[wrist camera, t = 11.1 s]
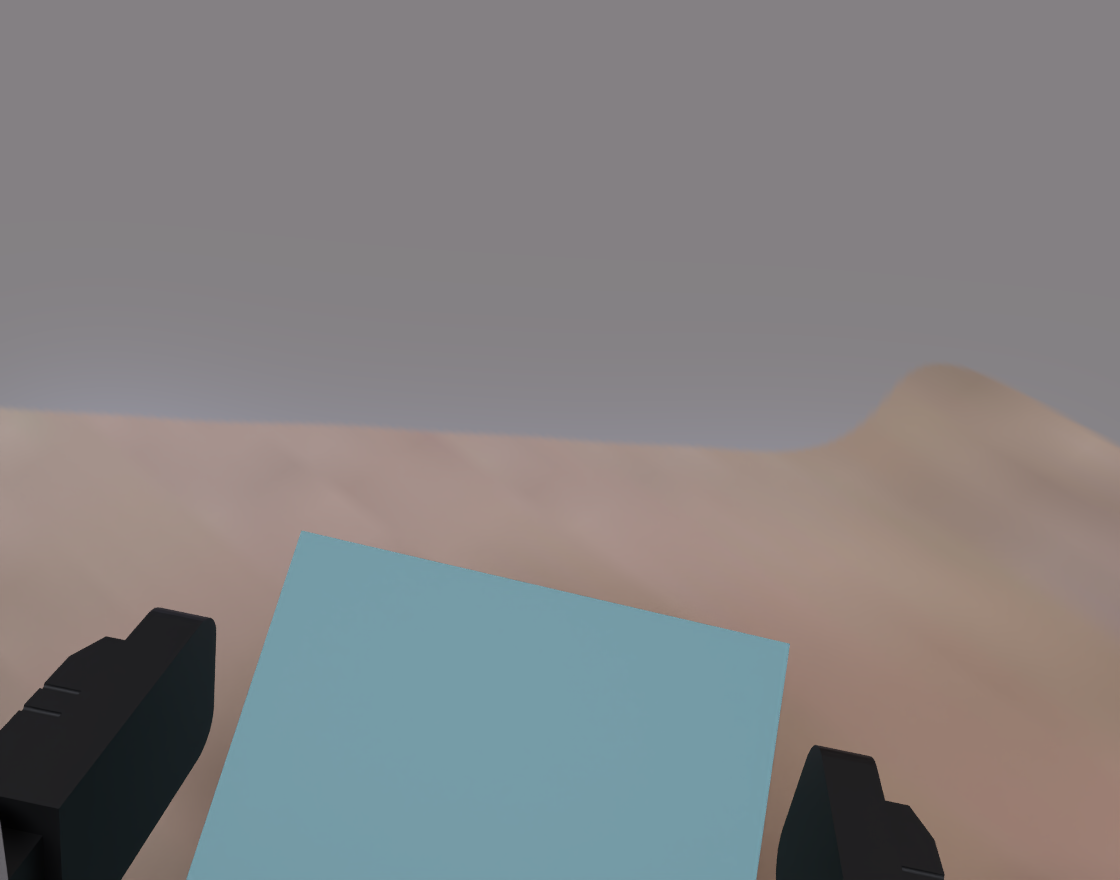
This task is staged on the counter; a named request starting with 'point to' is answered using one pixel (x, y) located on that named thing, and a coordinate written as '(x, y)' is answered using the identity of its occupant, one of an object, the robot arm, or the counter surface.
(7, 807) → the robot arm
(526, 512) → the counter surface
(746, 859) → the teal block
